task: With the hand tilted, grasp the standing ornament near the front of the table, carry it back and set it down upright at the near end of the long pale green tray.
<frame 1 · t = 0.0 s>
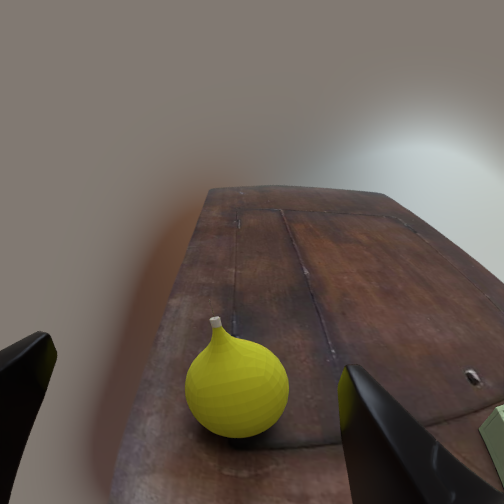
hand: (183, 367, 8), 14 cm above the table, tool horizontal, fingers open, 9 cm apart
ornament: (235, 418, 21), on the table
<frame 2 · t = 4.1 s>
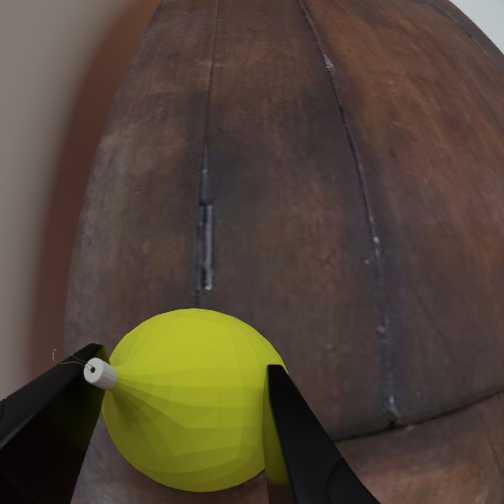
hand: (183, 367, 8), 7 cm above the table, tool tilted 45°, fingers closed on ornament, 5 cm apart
ornament: (208, 392, 14), on the table, touching gripper
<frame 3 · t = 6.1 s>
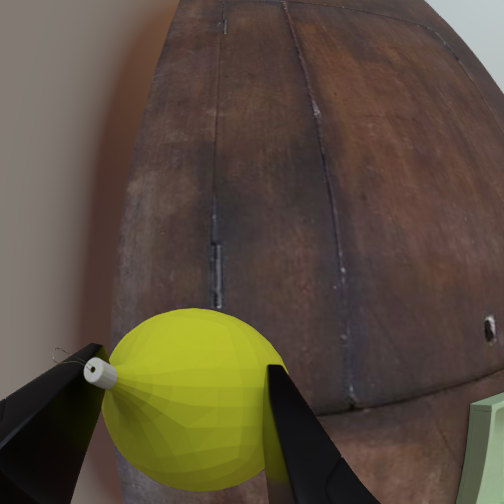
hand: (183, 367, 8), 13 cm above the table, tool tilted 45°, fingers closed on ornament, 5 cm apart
ornament: (208, 392, 14), point 6 cm above the table, touching gripper
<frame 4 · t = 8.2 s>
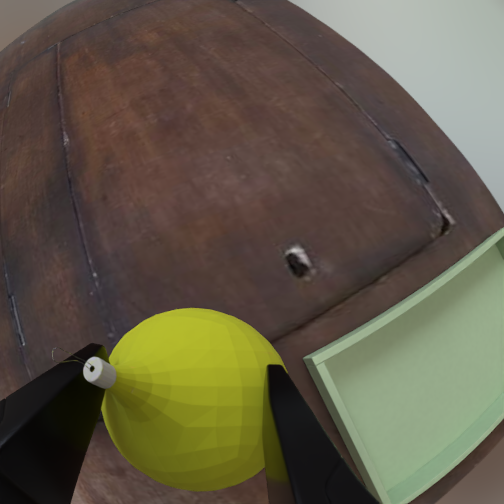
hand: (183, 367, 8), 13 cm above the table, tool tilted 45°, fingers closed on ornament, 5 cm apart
ornament: (208, 392, 14), point 7 cm above the table, touching gripper
pale green tray: (455, 359, 20), on the table
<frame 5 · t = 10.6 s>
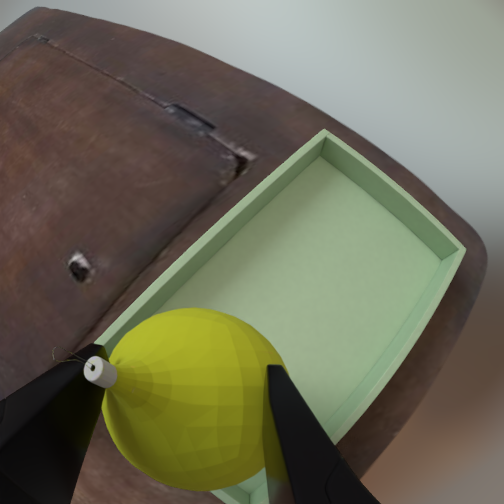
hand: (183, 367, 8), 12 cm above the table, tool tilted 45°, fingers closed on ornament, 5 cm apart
ornament: (208, 392, 14), point 5 cm above the table, touching gripper
pale green tray: (292, 315, 20), on the table
when the fingers open (7 cm above the table, at t = 12.3 s): ornament stays where it is, resting on pale green tray.
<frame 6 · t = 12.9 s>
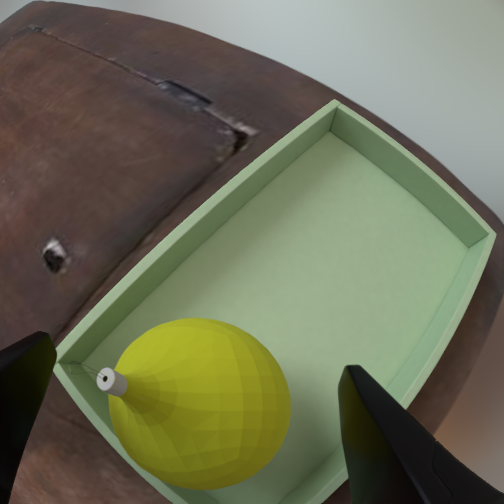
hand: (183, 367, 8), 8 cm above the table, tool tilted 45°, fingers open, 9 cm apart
ornament: (210, 396, 14), resting on pale green tray
pale green tray: (301, 311, 16), on the table
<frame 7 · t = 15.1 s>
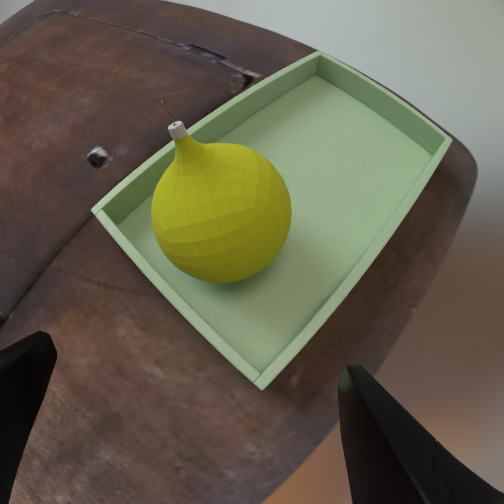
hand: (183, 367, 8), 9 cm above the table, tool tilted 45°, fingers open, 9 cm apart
ornament: (225, 241, 19), resting on pale green tray
pale green tray: (297, 183, 21), on the table
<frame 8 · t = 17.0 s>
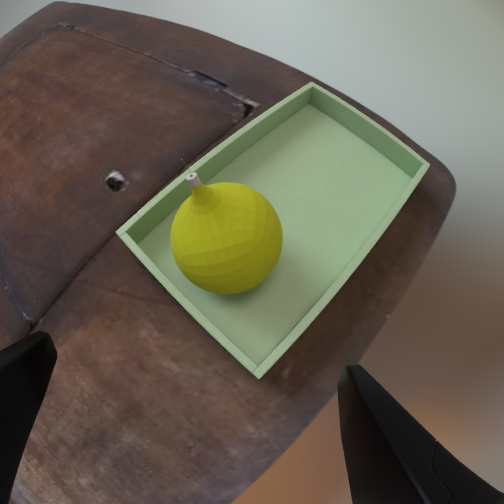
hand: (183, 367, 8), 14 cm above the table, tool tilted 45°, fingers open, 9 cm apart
ornament: (229, 258, 23), resting on pale green tray
pale green tray: (290, 208, 25), on the table
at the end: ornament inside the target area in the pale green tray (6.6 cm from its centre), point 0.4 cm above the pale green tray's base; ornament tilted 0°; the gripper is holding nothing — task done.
